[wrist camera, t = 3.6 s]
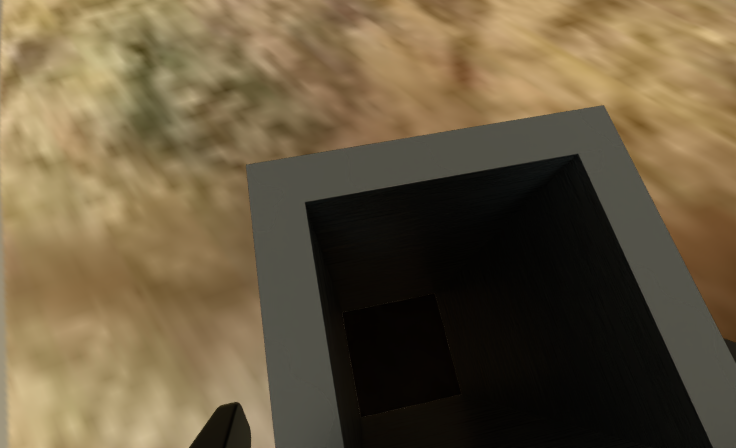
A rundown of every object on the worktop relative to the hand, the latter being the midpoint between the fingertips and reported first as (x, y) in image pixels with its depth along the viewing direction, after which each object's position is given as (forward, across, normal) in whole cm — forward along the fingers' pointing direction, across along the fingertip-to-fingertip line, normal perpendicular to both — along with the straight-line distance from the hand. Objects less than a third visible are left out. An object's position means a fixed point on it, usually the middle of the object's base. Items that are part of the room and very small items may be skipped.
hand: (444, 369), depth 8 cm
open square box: (+6, 0, +6) cm, 9 cm away
